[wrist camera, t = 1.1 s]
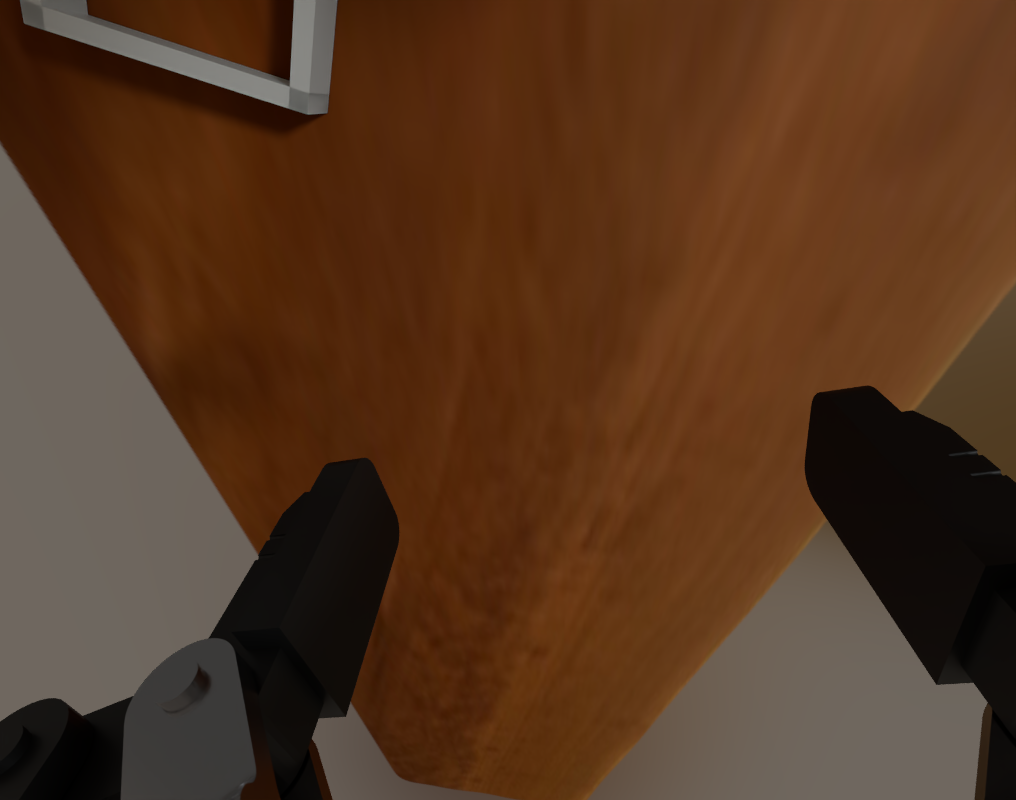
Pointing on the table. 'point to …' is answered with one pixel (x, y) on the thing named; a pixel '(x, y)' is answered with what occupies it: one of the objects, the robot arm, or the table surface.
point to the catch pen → (63, 11)
